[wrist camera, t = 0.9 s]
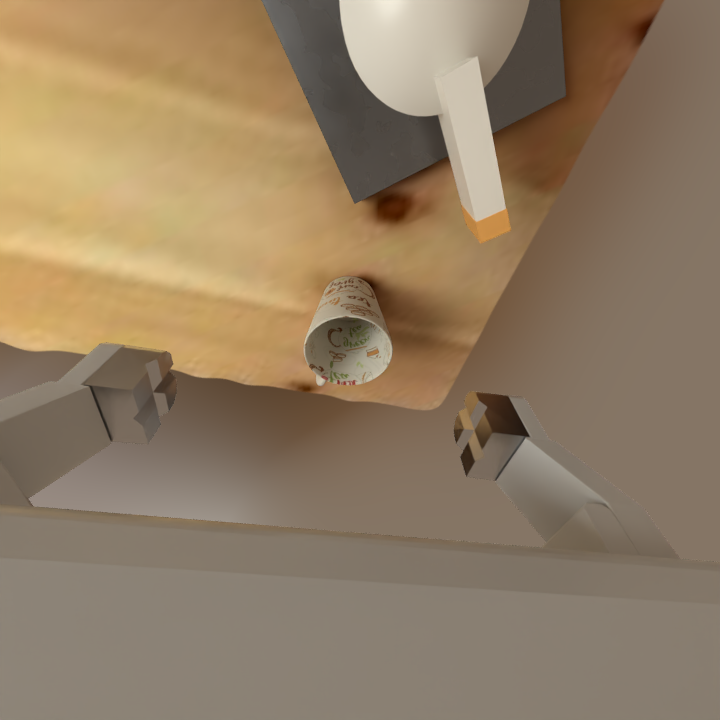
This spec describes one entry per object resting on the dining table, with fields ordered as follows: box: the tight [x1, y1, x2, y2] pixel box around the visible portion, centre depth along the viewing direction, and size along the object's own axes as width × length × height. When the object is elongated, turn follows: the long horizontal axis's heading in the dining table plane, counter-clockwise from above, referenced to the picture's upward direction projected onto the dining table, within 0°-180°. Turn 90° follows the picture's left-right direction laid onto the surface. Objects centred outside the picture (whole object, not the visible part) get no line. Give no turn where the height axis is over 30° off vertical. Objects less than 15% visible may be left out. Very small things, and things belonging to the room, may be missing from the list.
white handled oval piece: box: [339, 0, 529, 243], centre depth 21 cm, size 18×10×5 cm, turn 25°
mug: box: [304, 276, 393, 386], centre depth 37 cm, size 8×13×10 cm, turn 156°
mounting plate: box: [262, 0, 566, 203], centre depth 22 cm, size 18×18×6 cm
